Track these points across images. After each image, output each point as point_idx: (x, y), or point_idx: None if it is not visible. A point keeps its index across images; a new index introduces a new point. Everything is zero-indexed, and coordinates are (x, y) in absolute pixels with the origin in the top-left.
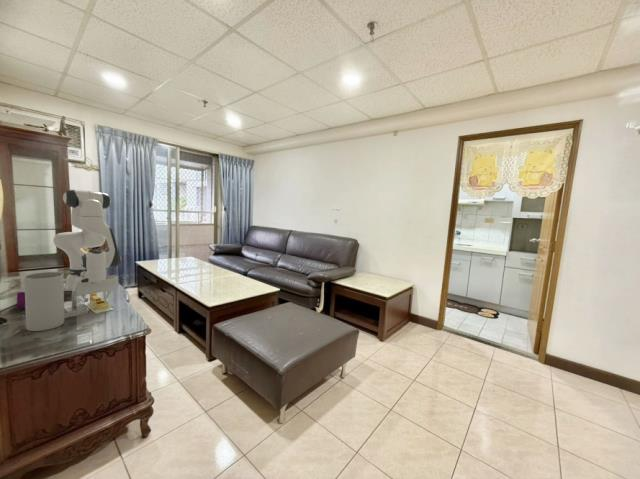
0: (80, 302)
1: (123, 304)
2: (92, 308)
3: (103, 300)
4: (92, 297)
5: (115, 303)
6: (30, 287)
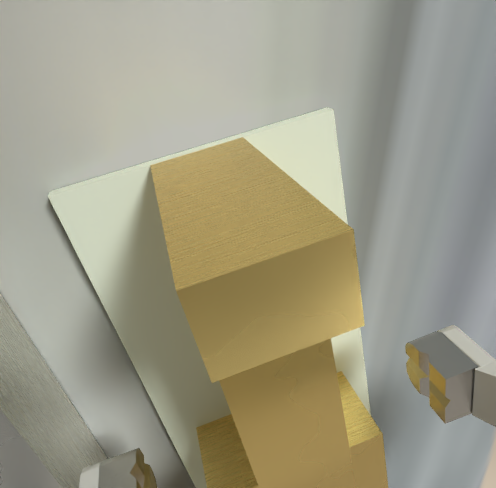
0: (16, 441)
1: None
2: None
3: (361, 449)
4: (226, 396)
5: (447, 319)
6: None
